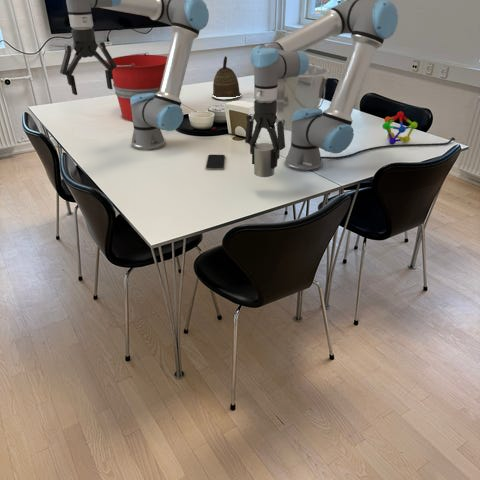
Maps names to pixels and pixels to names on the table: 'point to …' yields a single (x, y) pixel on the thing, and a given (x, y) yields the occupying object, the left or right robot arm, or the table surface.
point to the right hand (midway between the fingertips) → (264, 164)
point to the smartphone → (215, 162)
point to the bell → (225, 82)
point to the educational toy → (398, 128)
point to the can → (263, 160)
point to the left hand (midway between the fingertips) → (92, 91)
